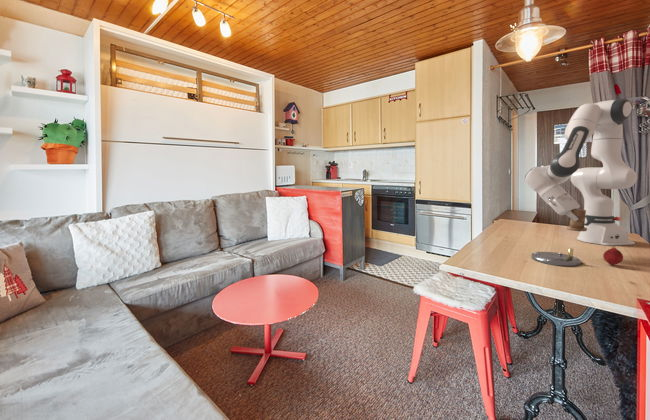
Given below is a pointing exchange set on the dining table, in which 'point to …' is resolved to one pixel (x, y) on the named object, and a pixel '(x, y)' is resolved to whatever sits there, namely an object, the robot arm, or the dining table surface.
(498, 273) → the dining table surface
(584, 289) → the dining table surface
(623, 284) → the dining table surface
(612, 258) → the onion
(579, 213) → the bushing
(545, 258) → the flange plate
